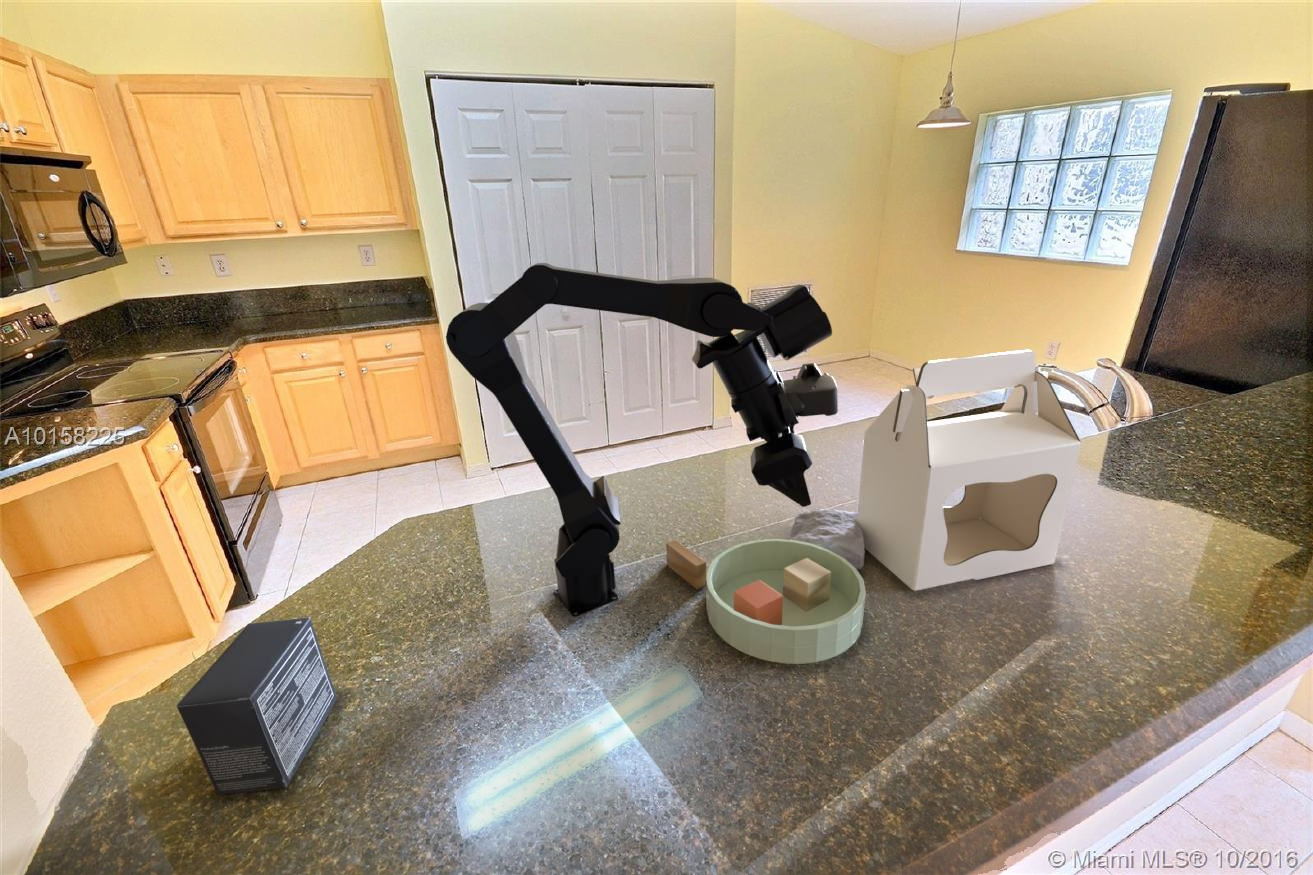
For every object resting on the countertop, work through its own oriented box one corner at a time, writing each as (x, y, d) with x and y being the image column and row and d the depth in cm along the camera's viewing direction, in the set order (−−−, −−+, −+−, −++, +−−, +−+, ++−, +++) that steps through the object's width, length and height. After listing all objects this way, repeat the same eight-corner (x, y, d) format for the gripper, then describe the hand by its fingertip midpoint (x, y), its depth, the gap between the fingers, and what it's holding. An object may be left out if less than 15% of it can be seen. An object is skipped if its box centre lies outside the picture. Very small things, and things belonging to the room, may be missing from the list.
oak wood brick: (697, 592, 75) (696, 566, 73) (666, 568, 80) (665, 543, 79) (706, 588, 75) (706, 562, 74) (676, 564, 81) (675, 539, 79)
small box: (275, 703, 60) (246, 620, 56) (340, 697, 60) (315, 614, 57) (210, 797, 50) (169, 704, 46) (288, 789, 50) (253, 696, 47)
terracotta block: (756, 638, 65) (756, 608, 64) (733, 619, 68) (733, 591, 67) (782, 624, 67) (783, 595, 66) (758, 607, 70) (759, 579, 69)
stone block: (795, 580, 79) (871, 571, 76) (787, 550, 78) (865, 539, 75) (794, 538, 90) (861, 528, 87) (788, 511, 89) (855, 500, 86)
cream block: (806, 611, 69) (808, 583, 68) (782, 595, 72) (783, 568, 71) (829, 599, 71) (831, 572, 70) (805, 584, 74) (806, 557, 73)
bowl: (780, 694, 58) (782, 654, 56) (677, 603, 73) (676, 569, 71) (895, 624, 67) (899, 588, 65) (783, 556, 82) (784, 525, 80)
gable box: (981, 519, 89) (1012, 338, 79) (1056, 564, 77) (1104, 357, 67) (852, 543, 84) (868, 354, 74) (911, 595, 72) (939, 378, 62)
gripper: (829, 380, 56) (884, 503, 61) (806, 326, 72) (851, 426, 78) (725, 425, 59) (786, 538, 65) (725, 364, 76) (774, 457, 81)
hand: (802, 484), depth 72 cm, fingers open, 9 cm apart
